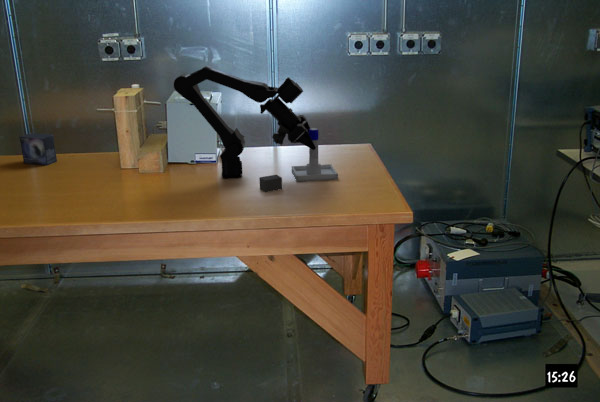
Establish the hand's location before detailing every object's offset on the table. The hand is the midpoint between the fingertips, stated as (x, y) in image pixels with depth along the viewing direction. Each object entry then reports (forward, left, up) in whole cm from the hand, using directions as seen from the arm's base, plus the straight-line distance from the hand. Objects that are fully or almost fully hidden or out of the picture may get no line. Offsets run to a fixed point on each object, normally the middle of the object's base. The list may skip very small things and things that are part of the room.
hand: (315, 145), depth 210 cm
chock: (-16, -12, -11) cm, 23 cm away
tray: (0, 0, -10) cm, 11 cm away
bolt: (0, 0, -10) cm, 10 cm away
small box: (-98, +35, -11) cm, 105 cm away
